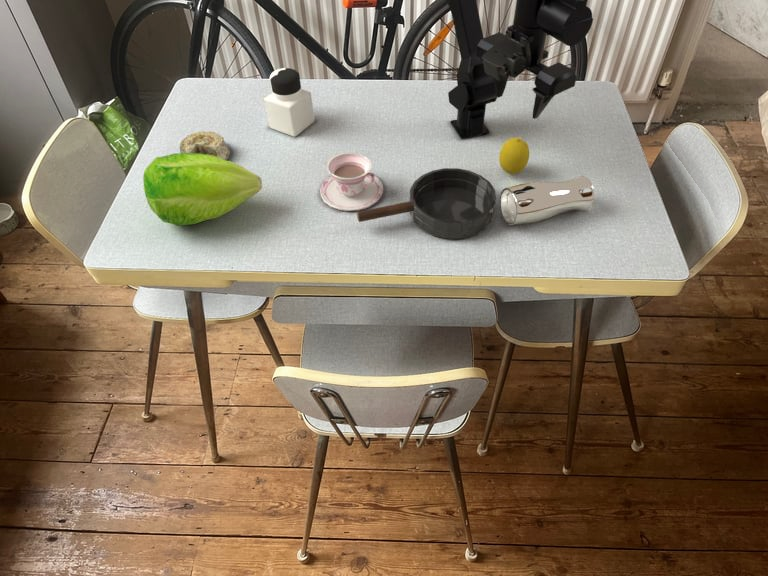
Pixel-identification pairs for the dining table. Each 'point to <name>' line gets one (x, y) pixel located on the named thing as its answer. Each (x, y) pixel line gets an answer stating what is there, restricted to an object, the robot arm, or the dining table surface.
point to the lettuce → (196, 187)
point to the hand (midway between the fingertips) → (516, 107)
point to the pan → (452, 203)
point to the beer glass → (545, 199)
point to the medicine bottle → (288, 103)
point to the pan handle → (385, 211)
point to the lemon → (514, 155)
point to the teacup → (350, 183)
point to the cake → (205, 144)
